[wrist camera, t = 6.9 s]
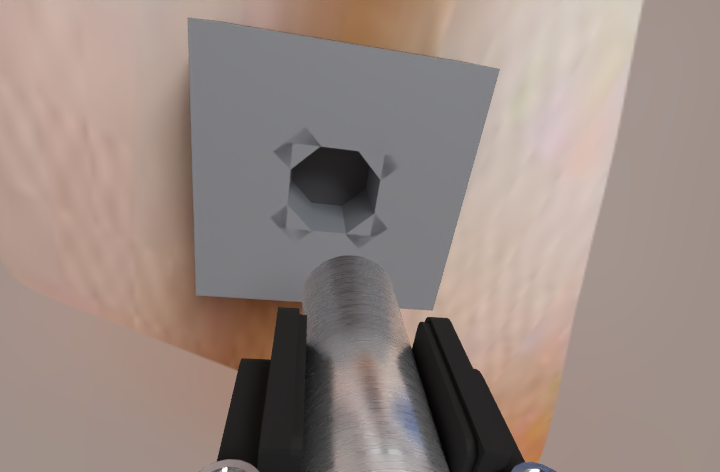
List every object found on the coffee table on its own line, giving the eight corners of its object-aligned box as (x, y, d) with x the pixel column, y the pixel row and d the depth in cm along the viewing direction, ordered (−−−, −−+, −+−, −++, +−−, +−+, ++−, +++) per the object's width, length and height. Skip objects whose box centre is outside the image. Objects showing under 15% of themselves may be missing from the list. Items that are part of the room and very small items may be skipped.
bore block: (213, 20, 21) (187, 17, 17) (464, 62, 24) (499, 68, 19) (214, 252, 27) (195, 295, 23) (414, 268, 30) (432, 310, 25)
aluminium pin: (307, 251, 13) (277, 969, 3) (400, 259, 13) (645, 905, 3) (299, 328, 14) (259, 1012, 4) (384, 333, 14) (528, 960, 5)
